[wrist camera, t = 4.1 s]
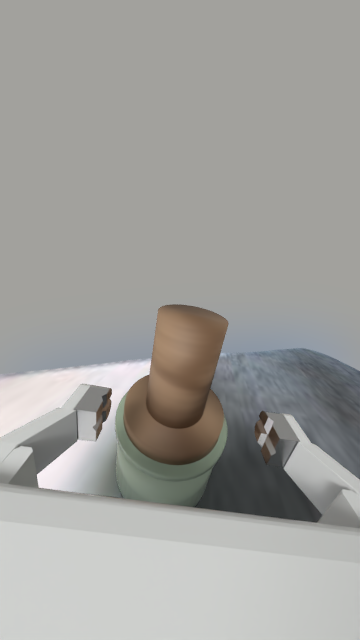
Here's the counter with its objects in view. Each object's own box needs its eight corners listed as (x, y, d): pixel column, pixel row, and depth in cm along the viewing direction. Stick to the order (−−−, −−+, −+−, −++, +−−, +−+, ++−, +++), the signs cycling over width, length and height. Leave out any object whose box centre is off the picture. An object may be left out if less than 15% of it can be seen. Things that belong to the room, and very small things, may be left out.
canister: (181, 408, 24) (190, 371, 22) (232, 488, 16) (252, 442, 14) (105, 432, 19) (107, 387, 17) (125, 562, 12) (133, 508, 10)
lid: (188, 374, 21) (205, 300, 18) (241, 438, 15) (281, 337, 11) (114, 390, 17) (120, 296, 14) (140, 490, 10) (162, 352, 7)
